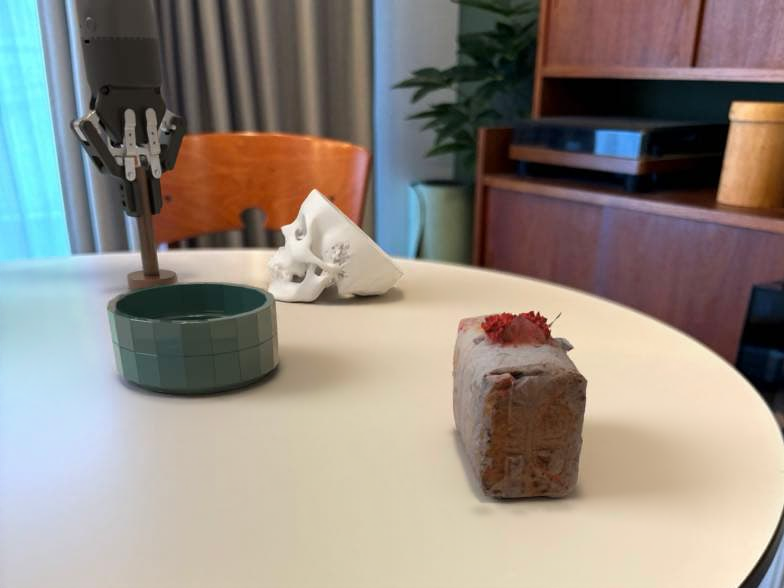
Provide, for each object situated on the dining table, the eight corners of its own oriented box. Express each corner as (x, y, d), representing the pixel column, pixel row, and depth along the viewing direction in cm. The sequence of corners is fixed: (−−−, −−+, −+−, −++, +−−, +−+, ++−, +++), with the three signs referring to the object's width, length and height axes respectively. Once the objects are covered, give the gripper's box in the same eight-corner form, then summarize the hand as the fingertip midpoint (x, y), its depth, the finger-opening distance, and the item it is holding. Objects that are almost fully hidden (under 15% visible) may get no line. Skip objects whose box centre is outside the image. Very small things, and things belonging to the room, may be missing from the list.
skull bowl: (251, 272, 97) (303, 177, 93) (353, 333, 102) (407, 245, 98) (249, 293, 88) (306, 188, 84) (360, 359, 93) (420, 263, 89)
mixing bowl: (184, 411, 63) (174, 333, 60) (87, 372, 70) (74, 301, 67) (311, 369, 72) (308, 299, 69) (213, 338, 79) (206, 274, 76)
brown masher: (147, 295, 93) (129, 170, 87) (118, 287, 96) (99, 165, 90) (187, 287, 97) (174, 166, 90) (159, 279, 100) (143, 162, 93)
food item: (440, 420, 62) (445, 286, 57) (545, 417, 63) (558, 285, 58) (469, 503, 50) (478, 344, 45) (597, 500, 51) (620, 342, 46)
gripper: (154, 36, 90) (173, 205, 99) (35, 31, 81) (69, 218, 90) (196, 35, 86) (213, 212, 95) (77, 31, 77) (108, 227, 86)
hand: (143, 214), depth 92 cm, fingers closed on brown masher
